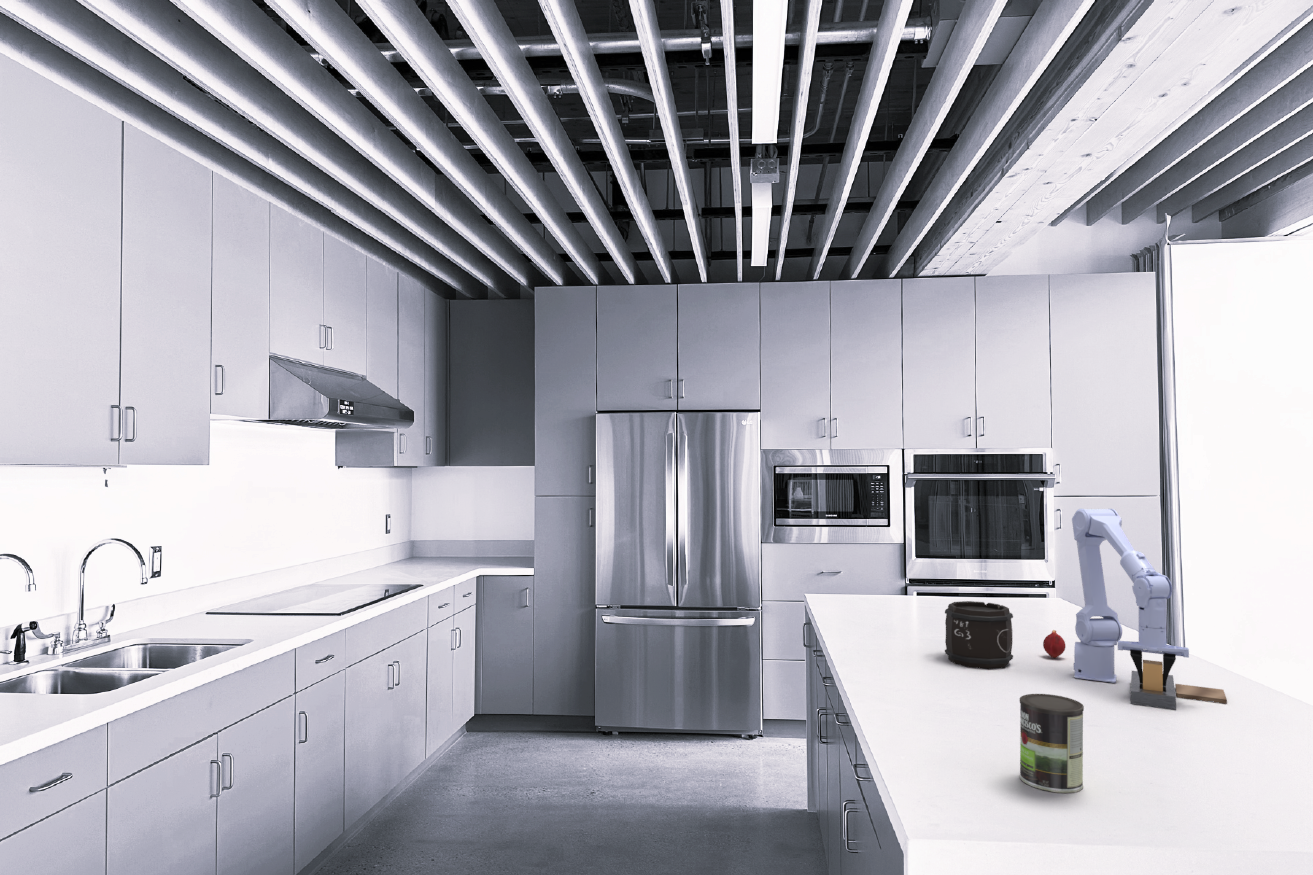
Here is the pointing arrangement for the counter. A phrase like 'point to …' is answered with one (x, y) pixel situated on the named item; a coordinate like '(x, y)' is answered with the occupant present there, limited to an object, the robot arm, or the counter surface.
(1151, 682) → the peg
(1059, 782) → the coffee can
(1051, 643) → the onion
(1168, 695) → the grey slotted block
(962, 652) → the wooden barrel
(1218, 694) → the board
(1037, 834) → the counter surface
